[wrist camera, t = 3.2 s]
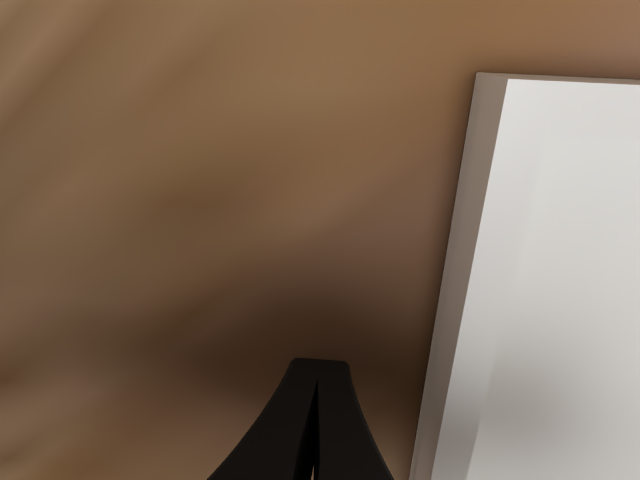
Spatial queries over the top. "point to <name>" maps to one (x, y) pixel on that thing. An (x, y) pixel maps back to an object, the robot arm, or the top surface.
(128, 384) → the top surface
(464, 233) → the tray
